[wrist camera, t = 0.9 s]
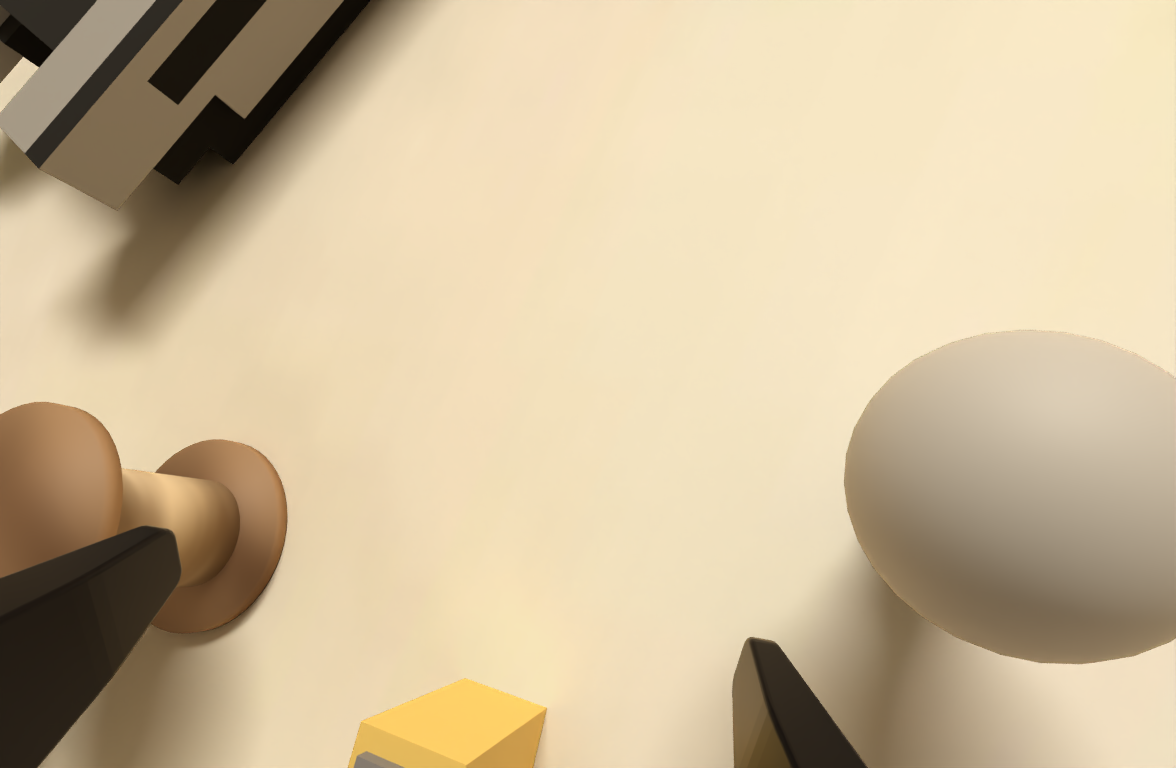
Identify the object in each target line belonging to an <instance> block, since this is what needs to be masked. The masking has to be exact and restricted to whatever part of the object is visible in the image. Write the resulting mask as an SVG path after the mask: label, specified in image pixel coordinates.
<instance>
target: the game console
mask: <svg viewBox="0 0 1176 768" xmlns="http://www.w3.org/2000/svg"><path fill="white" fill-rule="evenodd" d="M369 2H370V0H0V83H1V82H2V81H3V79H4V78H5V77H6V76H7V75H8V74H9V73H10V71H11V70H12V69H13V68H14V67H15V66H16V64H17V63H18V62H19V61H20V60H21V59H22V57H25V58H26V59H27V60H29V61H30V62H32V63H33V64H35V65H36V66H38V67H39V69H38V70H37V71H36V72H35V73H34V74H33V75H32V77H31V78H30V79H29V80H28V81H27V82H26V84H25V85H24V86H23V87H22V88H21V89H20V91H19V92H18V93H17V94H16V95H15V96H14V97H13V99H12V100H11V101H10V102H9V103H8V104H7V106H6V107H5V108H4V109H3V110H2V111H1V113H0V128H1V129H2V130H3V131H4V132H5V133H6V134H7V135H8V136H9V137H10V138H11V139H12V141H13V142H14V143H15V144H16V145H17V146H18V147H19V148H20V149H21V150H22V151H23V152H24V153H25V154H26V155H27V156H28V158H29V159H30V160H31V161H32V162H33V163H34V164H35V165H36V166H37V167H38V168H39V169H40V170H42V171H44V172H46V173H48V174H50V175H52V176H54V177H55V178H57V179H59V180H61V181H63V182H65V183H67V184H69V185H70V186H72V187H74V188H76V189H78V190H80V191H82V192H83V193H85V194H87V195H89V196H91V197H93V198H95V199H97V200H98V201H100V202H102V203H104V204H106V205H108V206H110V207H112V208H113V209H115V210H117V211H118V209H119V208H120V207H121V206H122V205H123V203H124V202H125V201H126V200H127V199H128V198H129V196H130V195H131V194H132V193H133V192H134V190H135V189H136V188H137V187H138V186H139V184H140V183H141V182H142V181H143V180H144V179H145V177H146V176H147V175H148V174H149V173H150V171H151V170H152V169H154V170H156V171H158V172H159V173H161V174H162V175H164V176H165V177H167V178H169V179H170V180H172V181H173V182H175V183H176V184H179V183H180V182H181V181H182V180H183V178H184V177H185V176H186V175H187V174H188V172H189V171H190V170H191V169H192V168H193V166H194V165H195V164H196V163H197V162H198V160H199V159H200V158H201V157H202V156H203V155H204V153H205V152H206V151H207V150H208V149H209V147H210V148H211V149H212V150H214V151H215V152H217V153H218V154H219V155H221V156H222V157H223V158H225V159H226V160H227V161H229V162H230V163H231V164H234V163H235V162H236V161H237V159H238V158H239V157H240V156H241V155H242V153H243V152H244V151H245V150H246V149H247V147H248V146H249V145H250V144H251V143H252V141H253V140H254V139H255V138H256V137H257V136H258V134H259V133H260V132H261V131H262V130H263V128H264V127H265V126H266V125H267V124H268V122H269V121H270V120H271V119H272V118H273V116H274V115H275V114H276V113H277V112H278V110H279V109H280V108H281V107H282V106H283V104H284V103H285V102H286V101H287V100H288V98H289V97H290V96H291V95H292V94H293V92H294V91H295V90H296V89H297V88H298V86H299V85H300V84H301V83H302V82H303V80H304V79H305V78H306V77H307V76H308V74H309V73H310V72H311V71H312V70H313V69H314V67H315V66H316V65H317V64H318V63H319V61H320V60H321V59H322V58H323V57H324V55H325V54H326V53H327V52H328V51H329V49H330V48H331V47H332V46H333V45H334V43H335V42H336V41H337V40H338V39H339V37H340V36H341V35H342V34H343V33H344V31H345V30H346V29H347V28H348V27H349V25H350V24H351V23H352V22H353V21H354V19H355V18H356V17H357V16H358V15H359V13H360V12H361V11H362V10H363V9H364V8H365V6H366V5H367V4H368V3H369Z"/></svg>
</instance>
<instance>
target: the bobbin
mask: <svg viewBox="0 0 1176 768" xmlns="http://www.w3.org/2000/svg"><path fill="white" fill-rule="evenodd" d="M143 525H151V526H157V527H162V528H167V529H170V530H172V531H173V532H174V534H175V536H176V540H177V545H178V550H179V556H180V561H181V566H182V574H181V578H180V581H179V583H178V585H177V586H176V588H175V589H174V591H173V592H172V594H171V595H170V597H169V598H168V600H167V601H166V602H165V604H164V605H163V607H162V608H161V610H160V611H159V612H158V614H157V615H156V617H155V618H154V620H153V621H152V622H151V624H152V625H154V626H156V627H158V628H160V629H162V630H165V631H168V632H172V633H193V632H200V631H206V630H210V629H214V628H217V627H219V626H222V625H224V624H226V623H228V622H230V621H231V620H233V619H235V618H236V617H237V616H239V615H240V614H241V613H243V612H244V611H245V610H246V609H247V608H248V607H249V606H250V605H251V604H252V603H253V602H254V601H255V600H256V598H257V597H258V596H259V595H260V594H261V592H262V591H263V589H264V588H265V586H266V585H267V583H268V582H269V580H270V578H271V576H272V574H273V572H274V570H275V568H276V566H277V563H278V561H279V558H280V555H281V552H282V548H283V545H284V540H285V534H286V525H287V505H286V499H285V493H284V489H283V486H282V482H281V480H280V478H279V476H278V473H277V472H276V470H275V468H274V467H273V465H272V464H271V463H270V462H269V460H268V459H267V458H266V457H265V456H264V455H263V454H261V453H260V452H259V451H257V450H256V449H254V448H252V447H250V446H248V445H245V444H242V443H237V442H233V441H227V440H207V441H202V442H199V443H195V444H193V445H190V446H188V447H186V448H184V449H182V450H181V451H179V452H178V453H176V454H175V455H173V456H172V457H171V458H170V459H168V460H167V461H166V462H165V463H164V464H163V465H162V466H161V467H160V468H159V469H158V470H157V471H156V472H155V473H153V472H145V471H138V470H130V469H123V468H121V464H120V459H119V455H118V452H117V449H116V446H115V444H114V442H113V440H112V438H111V436H110V434H109V432H108V431H107V430H106V428H105V427H104V426H103V424H102V423H101V422H100V421H98V420H97V419H96V418H95V417H94V416H92V415H91V414H89V413H87V412H86V411H83V410H81V409H78V408H75V407H70V406H65V405H61V404H56V403H49V402H34V403H29V404H24V405H21V406H18V407H15V408H12V409H10V410H8V411H6V412H4V413H2V414H0V578H2V577H4V576H7V575H10V574H12V573H15V572H18V571H21V570H23V569H26V568H29V567H31V566H34V565H37V564H39V563H42V562H45V561H48V560H50V559H53V558H56V557H58V556H61V555H64V554H66V553H69V552H72V551H75V550H77V549H80V548H83V547H85V546H88V545H91V544H93V543H96V542H99V541H102V540H104V539H107V538H110V537H112V536H115V535H118V534H120V533H123V532H126V531H129V530H131V529H134V528H137V527H139V526H143Z"/></svg>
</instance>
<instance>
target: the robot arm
mask: <svg viewBox="0 0 1176 768" xmlns="http://www.w3.org/2000/svg"><path fill="white" fill-rule="evenodd" d="M181 574H182V566H181V561H180V556H179V550H178V545H177V540H176V536H175V534H174V532H173V531H172V530H170V529H167V528H162V527H157V526H151V525H143V526H139V527H137V528H134V529H131V530H129V531H126V532H123V533H120V534H118V535H115V536H112V537H110V538H107V539H104V540H102V541H99V542H96V543H93V544H91V545H88V546H85V547H83V548H80V549H77V550H75V551H72V552H69V553H66V554H64V555H61V556H58V557H56V558H53V559H50V560H48V561H45V562H42V563H39V564H37V565H34V566H31V567H29V568H26V569H23V570H21V571H18V572H15V573H12V574H10V575H7V576H4V577H2V578H0V768H38V766H39V765H40V764H41V763H42V762H43V760H44V759H45V758H46V757H47V756H48V754H49V753H50V752H51V751H52V750H53V748H54V747H55V746H56V745H57V744H58V742H59V741H60V740H61V739H62V738H63V737H64V735H65V734H66V733H67V732H68V731H69V729H70V728H71V727H72V726H73V725H74V723H75V722H76V721H77V720H78V719H79V717H80V716H81V715H82V714H83V713H84V711H85V710H86V709H87V708H88V707H89V705H90V704H91V703H92V702H93V701H94V699H95V698H96V697H97V696H98V695H99V693H100V692H101V691H102V690H103V688H104V687H105V686H106V685H107V683H108V682H109V681H110V680H111V678H112V677H113V676H114V675H115V673H116V672H117V671H118V669H119V668H120V666H121V665H122V664H123V662H124V661H125V660H126V658H127V657H128V655H129V654H130V653H131V651H132V650H133V648H134V647H135V645H136V644H137V643H138V641H139V640H140V638H141V637H142V635H143V634H144V632H145V631H146V630H147V628H148V627H149V625H150V624H151V622H152V621H153V620H154V618H155V617H156V615H157V614H158V612H159V611H160V610H161V608H162V607H163V605H164V604H165V602H166V601H167V600H168V598H169V597H170V595H171V594H172V592H173V591H174V589H175V588H176V586H177V585H178V583H179V581H180V578H181ZM732 698H733V741H734V768H868V767H867V766H866V765H865V763H864V762H863V760H862V759H861V758H860V756H859V755H858V754H857V752H856V751H855V750H854V748H853V747H852V745H851V744H850V743H849V741H848V740H847V739H846V737H845V736H844V734H843V733H842V732H841V730H840V729H839V728H838V726H837V725H836V723H835V722H834V721H833V719H832V718H831V717H830V715H829V714H828V712H827V711H826V710H825V708H824V707H823V706H822V704H821V703H820V702H819V700H818V699H817V697H816V696H815V695H814V693H813V692H812V691H811V689H810V688H809V686H808V685H807V684H806V682H805V681H804V680H803V678H802V677H801V675H800V674H799V673H798V671H797V670H796V669H795V667H794V666H793V664H792V663H791V662H790V660H789V659H788V658H787V656H786V655H785V654H784V652H783V651H782V649H781V648H780V647H779V645H778V644H776V643H775V642H774V641H771V640H766V639H760V638H755V637H749V638H747V640H746V641H745V643H744V646H743V649H742V652H741V655H740V658H739V661H738V664H737V668H736V671H735V674H734V678H733V688H732Z"/></svg>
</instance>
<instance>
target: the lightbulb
mask: <svg viewBox="0 0 1176 768" xmlns="http://www.w3.org/2000/svg"><path fill="white" fill-rule="evenodd" d="M844 487H845V494H846V502H847V509H848V513H849V516H850V519H851V522H852V525H853V528H854V531H855V534H856V537H857V540H858V541H859V543H860V545H861V547H862V548H863V550H864V552H865V554H866V555H867V557H868V559H869V561H870V562H871V564H872V566H873V568H874V569H875V570H876V571H877V573H878V574H879V575H880V576H881V577H882V579H883V580H884V581H885V582H886V583H887V585H888V586H889V587H890V588H891V589H892V591H893V592H894V593H895V594H896V595H897V596H898V597H899V598H901V599H902V600H903V601H904V602H905V603H907V604H908V605H909V606H910V607H911V608H912V609H914V610H915V611H916V612H917V613H918V614H919V615H921V616H922V617H923V618H925V619H926V620H928V621H930V622H931V623H933V624H935V625H936V626H938V627H940V628H942V629H943V630H945V631H947V632H948V633H950V634H952V635H953V636H955V637H957V638H960V639H962V640H964V641H967V642H970V643H972V644H975V645H977V646H980V647H982V648H985V649H987V650H990V651H993V652H995V653H998V654H1000V655H1005V656H1009V657H1014V658H1019V659H1024V660H1029V661H1033V662H1038V663H1061V664H1085V663H1095V662H1101V661H1107V660H1113V659H1119V658H1125V657H1131V656H1135V655H1138V654H1140V653H1143V652H1145V651H1148V650H1151V649H1153V648H1156V647H1158V646H1161V645H1164V644H1166V643H1169V642H1170V641H1172V640H1174V639H1175V638H1176V378H1175V377H1174V376H1172V375H1171V374H1170V373H1169V372H1167V371H1165V370H1164V369H1162V368H1160V367H1158V366H1157V365H1155V364H1153V363H1151V362H1150V361H1148V360H1146V359H1145V358H1143V357H1141V356H1139V355H1138V354H1136V353H1133V352H1131V351H1128V350H1125V349H1123V348H1120V347H1118V346H1115V345H1112V344H1110V343H1107V342H1105V341H1102V340H1098V339H1094V338H1089V337H1085V336H1080V335H1075V334H1071V333H1066V332H1052V331H1036V330H1017V331H1006V332H996V333H985V334H981V335H977V336H974V337H970V338H966V339H962V340H959V341H955V342H952V343H949V344H947V345H944V346H942V347H940V348H938V349H936V350H934V351H932V352H929V353H927V354H925V355H923V356H921V357H919V358H917V359H915V360H913V361H912V362H911V363H909V364H908V365H907V366H905V367H904V368H902V369H901V370H900V371H898V372H897V373H896V374H894V375H893V376H892V377H890V379H889V380H888V381H887V382H886V383H885V384H884V385H883V386H882V388H881V389H880V390H879V391H878V392H877V393H876V394H875V395H874V396H873V398H872V399H871V400H870V402H869V403H868V405H867V406H866V408H865V410H864V412H863V413H862V415H861V417H860V419H859V420H858V422H857V424H856V426H855V427H854V430H853V433H852V437H851V440H850V443H849V447H848V450H847V453H846V462H845V475H844Z"/></svg>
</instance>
